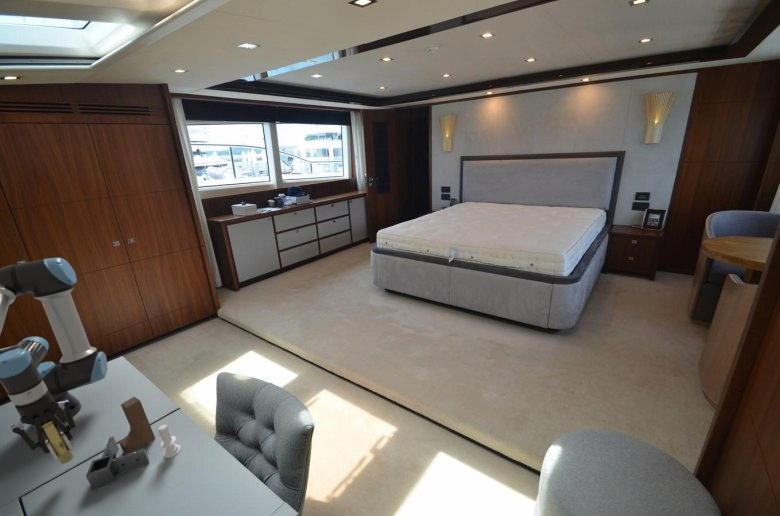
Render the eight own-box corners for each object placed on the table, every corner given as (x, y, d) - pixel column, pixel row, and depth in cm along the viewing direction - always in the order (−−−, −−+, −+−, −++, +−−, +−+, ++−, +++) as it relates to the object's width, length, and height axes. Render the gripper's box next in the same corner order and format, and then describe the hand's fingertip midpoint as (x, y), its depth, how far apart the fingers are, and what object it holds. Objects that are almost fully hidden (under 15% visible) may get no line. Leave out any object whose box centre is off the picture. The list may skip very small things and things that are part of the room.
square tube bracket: (107, 452, 121) (101, 440, 119) (155, 436, 126) (150, 423, 124) (92, 489, 108) (85, 476, 106) (147, 469, 113) (141, 456, 111)
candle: (166, 461, 116) (155, 435, 112) (161, 452, 119) (151, 426, 115) (183, 450, 119) (173, 424, 115) (178, 442, 123) (168, 417, 119)
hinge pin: (58, 461, 111) (35, 423, 105) (72, 452, 114) (51, 414, 108) (61, 466, 109) (38, 428, 103) (76, 457, 112) (55, 419, 106)
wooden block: (128, 457, 118) (110, 417, 112) (122, 451, 121) (104, 412, 115) (155, 438, 125) (140, 400, 119) (150, 433, 128) (134, 395, 122)
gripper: (-6, 421, 94) (32, 479, 102) (69, 385, 106) (97, 439, 114) (-10, 410, 98) (26, 466, 106) (63, 376, 110) (90, 430, 119)
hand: (63, 452), depth 110 cm, fingers closed on hinge pin, 3 cm apart
